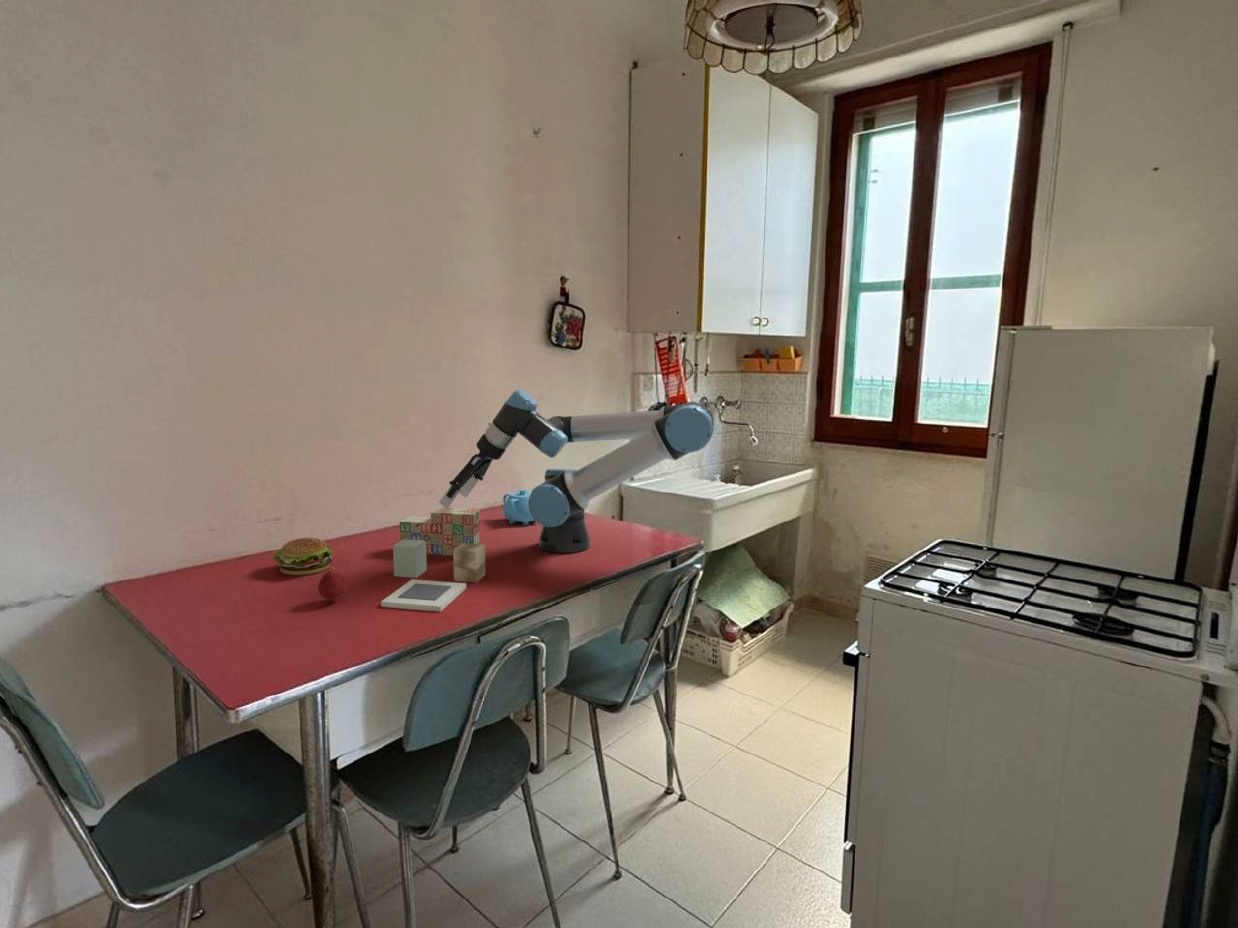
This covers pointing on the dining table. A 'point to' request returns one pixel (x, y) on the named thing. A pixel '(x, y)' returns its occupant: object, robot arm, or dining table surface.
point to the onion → (332, 585)
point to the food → (303, 556)
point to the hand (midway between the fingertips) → (453, 500)
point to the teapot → (518, 507)
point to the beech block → (469, 562)
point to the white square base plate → (424, 595)
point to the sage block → (409, 558)
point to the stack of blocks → (443, 529)
